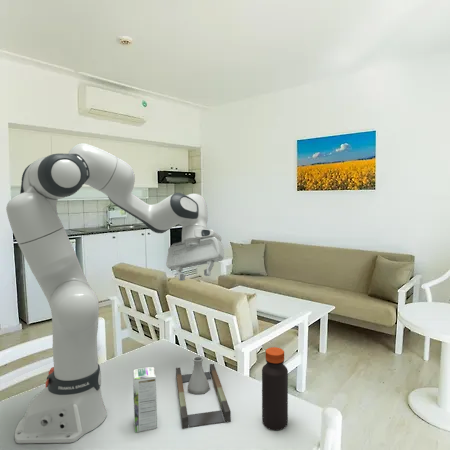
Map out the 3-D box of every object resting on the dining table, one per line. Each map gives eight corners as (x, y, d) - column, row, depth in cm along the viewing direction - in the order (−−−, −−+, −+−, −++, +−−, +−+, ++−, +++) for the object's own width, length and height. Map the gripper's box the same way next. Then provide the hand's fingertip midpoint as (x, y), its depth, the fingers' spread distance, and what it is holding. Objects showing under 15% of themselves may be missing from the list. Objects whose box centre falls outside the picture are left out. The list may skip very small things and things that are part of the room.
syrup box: (134, 419, 97) (131, 369, 96) (155, 415, 99) (154, 365, 97) (135, 433, 92) (133, 379, 90) (158, 428, 93) (156, 376, 92)
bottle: (293, 425, 94) (293, 353, 92) (272, 434, 90) (272, 359, 89) (277, 411, 100) (277, 343, 98) (257, 419, 96) (256, 349, 94)
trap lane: (182, 428, 93) (182, 417, 93) (176, 376, 120) (175, 367, 119) (230, 421, 96) (230, 411, 95) (213, 372, 122) (213, 363, 122)
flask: (206, 396, 108) (206, 364, 107) (184, 393, 109) (183, 362, 108) (212, 383, 115) (211, 354, 114) (190, 381, 116) (190, 352, 115)
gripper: (163, 241, 121) (161, 280, 115) (217, 228, 114) (218, 269, 108) (173, 248, 127) (172, 285, 120) (225, 236, 119) (226, 275, 113)
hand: (194, 277), depth 114 cm, fingers open, 8 cm apart
